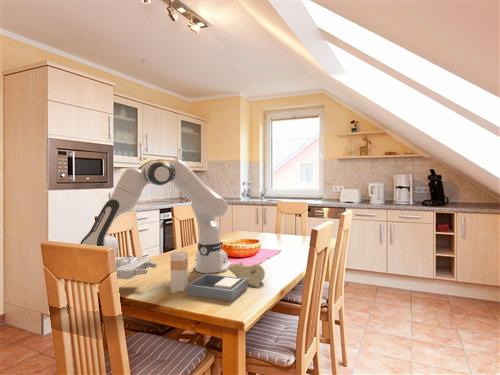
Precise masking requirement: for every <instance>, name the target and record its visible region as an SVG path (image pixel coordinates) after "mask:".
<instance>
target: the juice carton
mask: <svg viewBox="0 0 500 375" xmlns="http://www.w3.org/2000/svg"><path fill="white" fill-rule="evenodd" d="M188 260H189V258H188V251H174V252H172V253H171V254H170V293H171V294H177V293H178V292H184V291H185V290H187V289H186V285H187V284H189V281H188V276H189V275H188V274H189V272H188V269H189V268H188V266H189V261H188Z"/></svg>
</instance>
